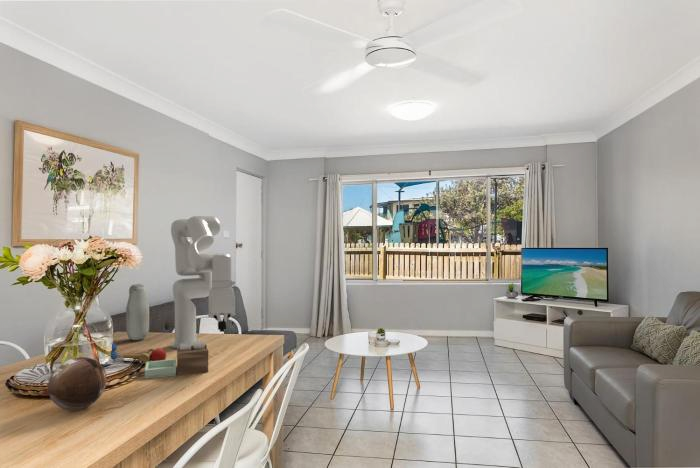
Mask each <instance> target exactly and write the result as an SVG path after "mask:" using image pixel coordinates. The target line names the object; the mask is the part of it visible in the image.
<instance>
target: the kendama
mask: <svg viewBox="0 0 700 468" xmlns="http://www.w3.org/2000/svg"><path fill="white" fill-rule="evenodd" d="M123 358H133V359H138V360H137V361H138V362H139V361H143V362H144V363H145V366H146V363H147V362H150V361H161V360H167V352H166V351H165V349H163V348H150V349H148V351H147V353H146V352H143V353H141V354H124V355H123ZM123 358H122V359H123Z"/></svg>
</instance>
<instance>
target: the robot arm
mask: <svg viewBox="0 0 700 468" xmlns="http://www.w3.org/2000/svg"><path fill="white" fill-rule="evenodd" d="M220 230H221V222H220V221H219V219H218V218H217V217H215V216H212V215H211V216H210V215H206V216H205V215H204V216H203V215H195V216H191V217H190V218H189V217H188V218H180V219H176V220H174V221H173V222H172V223H171V226H170V234H171V237H172V241H173V244H174V249H175V250H174V252H175V253H174V254H175V255H174V256H175V258H174V260H175V262H174V263H175V271H176V274H177V275H178V276H181V277H189V276H191V277H192V276H193V277H194V276H198V277H196V278H191V277H190V278H181V279H177V280H175V282H173V284H172V294H173V301H174V342H172V343H171V344H170V346H171V348H172V349H177V346H180V343H189V342H191V345H193V342H200V341H198V340H197V306H196V304H195V303H194V302H193V301H192V299H202V298H207V297H208V304H207V305H208V306H207V307H208V309H207V311H208V313H207V317H208V318H211V319H212V318H213V319H215V320H216V321H217V330H218V331H219V332H220V333H221V332H222V333H225V332H226V329H227V321H228V320H229V319H230V318H231V317H234V316H236V315H237V314H236V313H237V312H236V300H235V299H236V297H235V291H234V287H233V286H235V285H236V281H233V280H232V256H231V255H230V254H228V253H217V252H216V253H212V252H211V253H200V252H203V251H205V250H207V249H209V248H210V247H211V246H213V244H214V241H215V239H214V238H215V237H214V236H216V235H218V234H219V233H220ZM190 238H191V240H192V241H191V240H190ZM222 314H223V317H222V318H223V319H221V315H222Z"/></svg>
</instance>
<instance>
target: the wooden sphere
mask: <svg viewBox="0 0 700 468" xmlns="http://www.w3.org/2000/svg"><path fill="white" fill-rule="evenodd" d="M107 382H108V381H107V373H106V370H105V368H104V366H103V365H101V364H100V363H99V361H98V360H94V359H93V358H90V357H84V356H81V357H79V356H78V357H74V358H70V359H68V360H65V361H64V362H63V363H61V364H59V365H58V367H56V368H55V370H53V371H52V373H51V375H50V377H49V380H48V383H47V392H48V396H49V398H50V399H51V401H52V402H53V404H55V405H56V406H57V407H59V408H60V409H64V410H67V411H76V410H81V409H84V408H87V407H88V406H91V405H92V404H94V403H95V402H96V401H97V400H98V399H100V397H101V396H102V395H103V392H104V390H105V389H106V385H107Z"/></svg>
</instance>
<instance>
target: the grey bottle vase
mask: <svg viewBox="0 0 700 468" xmlns="http://www.w3.org/2000/svg"><path fill="white" fill-rule="evenodd" d="M146 291H147V290H146V287H145V285H144V284H141V283H135V284H132V285H130V286H129V289H128V299H127V303H126V307H125V308H126V309H125V317H126V318H125V320H126V323H125V324H126V325H125V326H126V327H125V328H126V335H127V337H128V339H130V340H131V341H141V340H144V339H145V338H146V337H147V336H148V335H149V333H150V332H149V331H150V305H149V302H148V299H147V293H146Z"/></svg>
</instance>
